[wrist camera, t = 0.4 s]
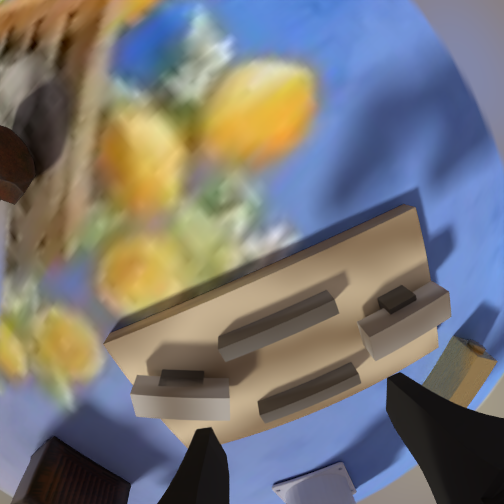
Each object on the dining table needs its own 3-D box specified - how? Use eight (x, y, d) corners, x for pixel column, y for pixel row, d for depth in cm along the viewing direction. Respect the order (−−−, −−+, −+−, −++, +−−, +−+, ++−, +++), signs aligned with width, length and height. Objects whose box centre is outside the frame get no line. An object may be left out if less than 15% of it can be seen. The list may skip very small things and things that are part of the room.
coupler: (475, 337, 23) (499, 357, 20) (440, 393, 25) (459, 416, 21) (454, 331, 23) (480, 352, 19) (416, 391, 24) (436, 416, 20)
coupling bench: (429, 338, 22) (457, 364, 18) (191, 439, 23) (189, 477, 19) (403, 203, 19) (441, 214, 15) (109, 333, 20) (89, 368, 15)
